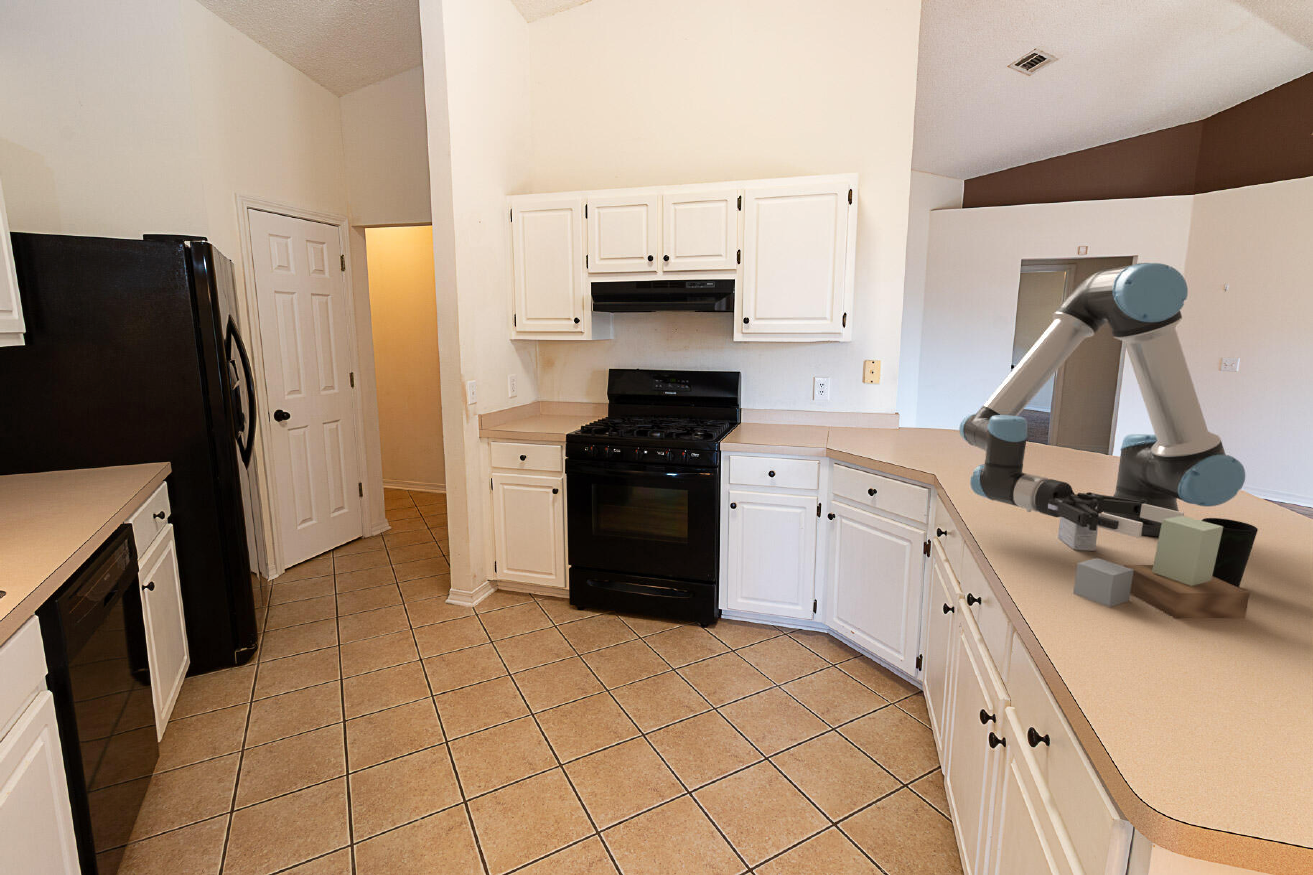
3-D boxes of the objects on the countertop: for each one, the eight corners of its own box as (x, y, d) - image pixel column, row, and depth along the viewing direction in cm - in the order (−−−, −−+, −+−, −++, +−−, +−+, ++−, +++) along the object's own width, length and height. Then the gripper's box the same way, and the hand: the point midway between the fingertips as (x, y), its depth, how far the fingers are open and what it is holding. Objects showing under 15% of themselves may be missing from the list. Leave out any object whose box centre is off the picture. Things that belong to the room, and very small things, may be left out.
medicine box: (1095, 551, 131) (1100, 513, 130) (1072, 550, 132) (1077, 512, 130) (1078, 539, 139) (1083, 503, 137) (1056, 538, 140) (1061, 502, 138)
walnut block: (1182, 589, 113) (1186, 564, 112) (1244, 620, 101) (1249, 592, 100) (1119, 590, 113) (1123, 565, 112) (1174, 620, 101) (1179, 593, 100)
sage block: (1171, 567, 111) (1182, 515, 109) (1211, 580, 105) (1223, 526, 103) (1151, 572, 108) (1162, 519, 106) (1191, 586, 103) (1203, 530, 101)
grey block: (1093, 588, 113) (1097, 557, 112) (1128, 601, 108) (1133, 569, 107) (1073, 593, 111) (1077, 563, 110) (1108, 607, 105) (1113, 575, 104)
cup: (1232, 579, 117) (1243, 520, 115) (1255, 595, 110) (1268, 532, 108) (1183, 573, 119) (1193, 516, 117) (1203, 589, 112) (1214, 528, 110)
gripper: (1077, 505, 133) (1194, 534, 115) (1003, 520, 123) (1119, 555, 104) (1082, 472, 132) (1201, 496, 113) (1007, 485, 122) (1125, 514, 103)
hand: (1162, 525), depth 109 cm, fingers open, 13 cm apart
